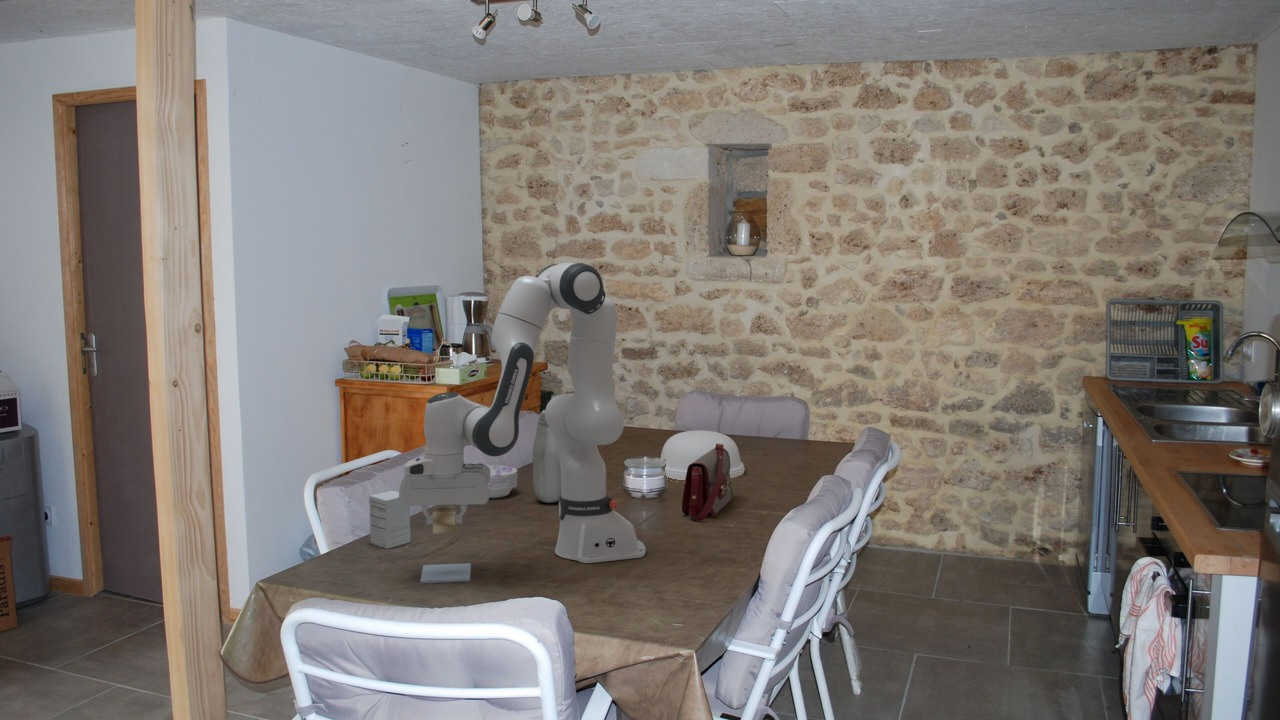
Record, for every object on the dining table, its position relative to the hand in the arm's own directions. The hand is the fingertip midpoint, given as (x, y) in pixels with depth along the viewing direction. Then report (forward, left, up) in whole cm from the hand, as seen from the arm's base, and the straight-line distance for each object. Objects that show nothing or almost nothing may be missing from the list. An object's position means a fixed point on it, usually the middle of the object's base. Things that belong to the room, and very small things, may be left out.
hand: (444, 523), depth 226 cm
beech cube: (0, 0, -2) cm, 2 cm away
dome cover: (-81, -95, -13) cm, 125 cm away
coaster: (0, 0, -12) cm, 12 cm away
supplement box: (+15, -27, -12) cm, 33 cm away
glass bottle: (-28, -63, -12) cm, 70 cm away
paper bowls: (-11, -74, -12) cm, 75 cm away
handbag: (-73, -48, -12) cm, 88 cm away
